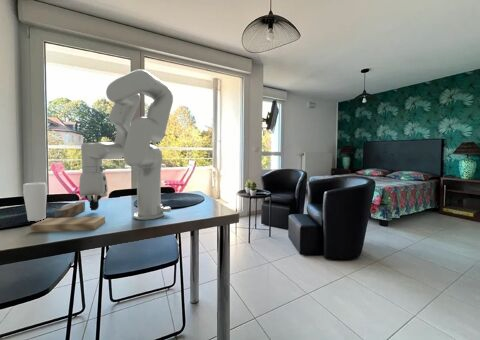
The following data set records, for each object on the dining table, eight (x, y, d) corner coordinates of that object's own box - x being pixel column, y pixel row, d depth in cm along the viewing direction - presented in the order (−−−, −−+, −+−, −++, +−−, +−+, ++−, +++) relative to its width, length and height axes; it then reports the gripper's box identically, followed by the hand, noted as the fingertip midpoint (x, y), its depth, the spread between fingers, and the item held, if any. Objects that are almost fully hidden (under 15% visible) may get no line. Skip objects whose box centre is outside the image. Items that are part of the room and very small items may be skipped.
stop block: (75, 211, 98) (74, 203, 97) (68, 215, 93) (67, 206, 93) (69, 212, 97) (68, 203, 97) (62, 215, 92) (61, 206, 92)
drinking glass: (33, 223, 82) (31, 185, 80) (20, 221, 83) (17, 184, 82) (52, 218, 88) (50, 182, 87) (39, 216, 90) (37, 181, 88)
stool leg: (61, 221, 83) (61, 211, 83) (52, 222, 83) (52, 211, 82) (85, 209, 100) (84, 200, 100) (77, 210, 100) (77, 201, 99)
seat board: (106, 221, 85) (106, 215, 85) (94, 229, 76) (94, 223, 76) (50, 223, 82) (49, 217, 82) (31, 232, 73) (30, 225, 73)
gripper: (113, 169, 101) (115, 207, 102) (78, 169, 98) (81, 208, 100) (106, 170, 93) (108, 211, 95) (68, 170, 91) (71, 212, 92)
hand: (94, 209), depth 97 cm, fingers closed
